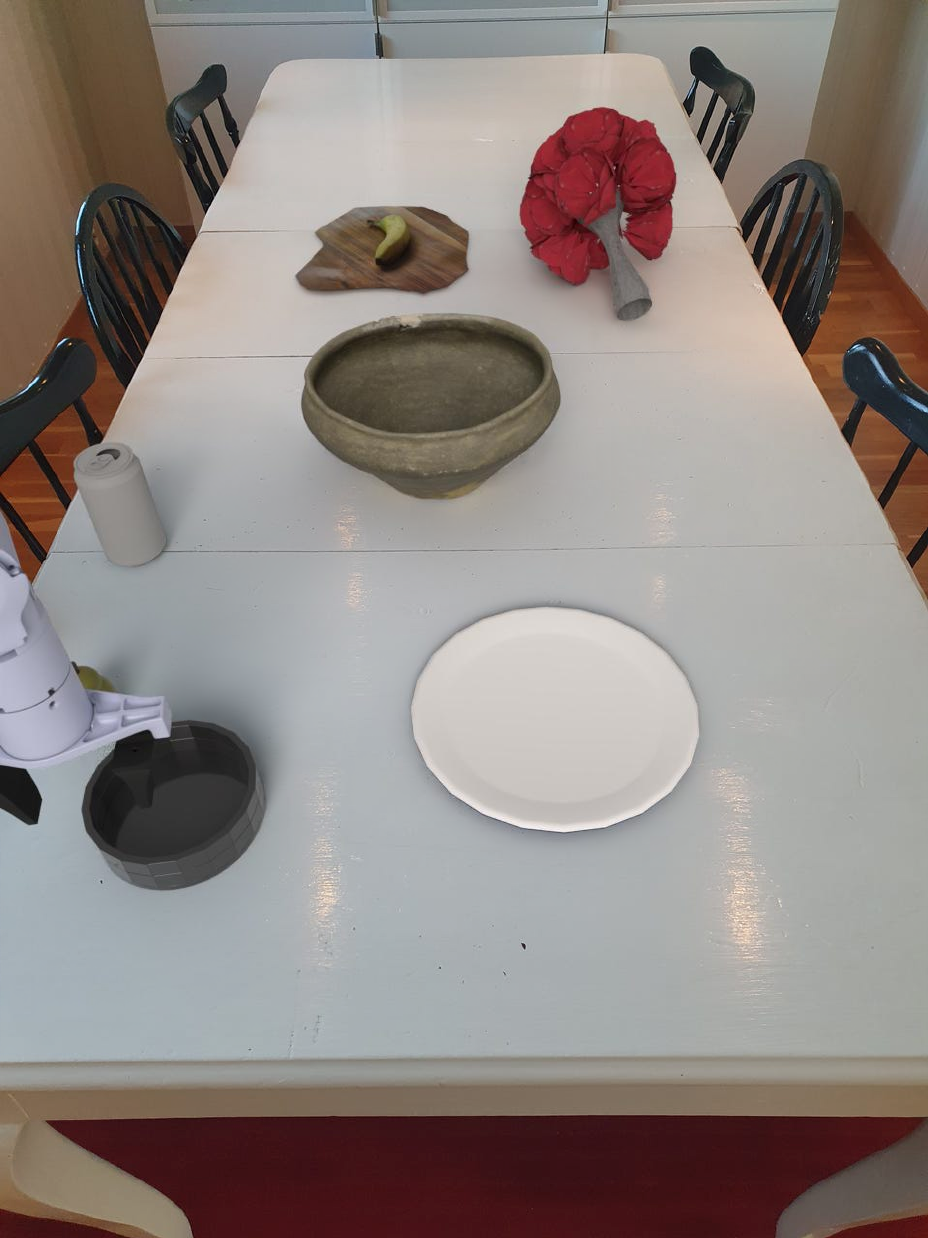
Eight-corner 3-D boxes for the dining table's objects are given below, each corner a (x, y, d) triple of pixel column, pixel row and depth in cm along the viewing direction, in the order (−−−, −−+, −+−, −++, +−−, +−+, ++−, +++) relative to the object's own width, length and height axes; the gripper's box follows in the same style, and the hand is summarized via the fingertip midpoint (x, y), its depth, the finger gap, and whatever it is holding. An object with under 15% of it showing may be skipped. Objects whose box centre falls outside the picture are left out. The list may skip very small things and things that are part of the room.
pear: (87, 748, 78) (58, 692, 73) (62, 718, 81) (32, 662, 75) (134, 718, 80) (109, 662, 75) (109, 690, 83) (83, 634, 77)
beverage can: (179, 538, 98) (149, 444, 89) (146, 576, 94) (111, 482, 85) (129, 526, 99) (95, 434, 91) (94, 564, 95) (55, 470, 87)
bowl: (603, 493, 102) (615, 382, 92) (385, 583, 92) (372, 469, 82) (473, 383, 119) (472, 279, 109) (278, 449, 109) (256, 341, 99)
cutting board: (468, 296, 136) (467, 271, 134) (288, 298, 137) (284, 273, 134) (471, 205, 161) (470, 183, 158) (318, 207, 162) (315, 185, 159)
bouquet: (688, 337, 140) (631, 177, 147) (738, 236, 117) (668, 52, 124) (553, 365, 138) (503, 202, 145) (578, 268, 115) (516, 79, 122)
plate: (497, 582, 92) (497, 573, 91) (737, 673, 83) (740, 663, 82) (355, 757, 77) (353, 749, 76) (628, 892, 68) (630, 884, 67)
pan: (152, 925, 67) (136, 898, 64) (68, 814, 73) (51, 786, 71) (297, 816, 73) (289, 788, 70) (207, 724, 80) (197, 694, 77)
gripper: (150, 613, 57) (199, 744, 67) (-90, 644, 56) (-5, 772, 65) (140, 698, 52) (195, 826, 62) (-124, 734, 51) (-26, 859, 60)
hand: (91, 804), depth 63 cm, fingers open, 7 cm apart
